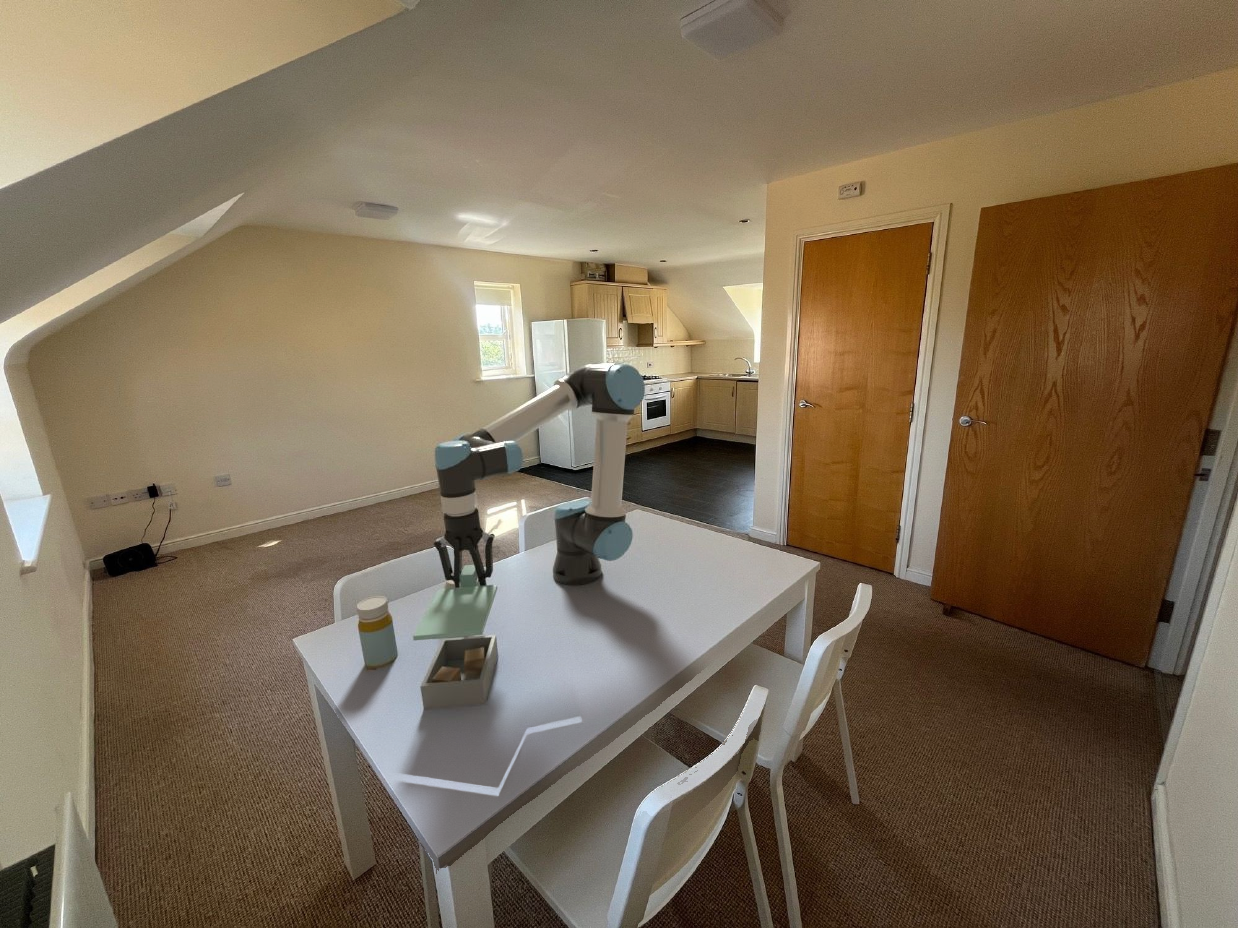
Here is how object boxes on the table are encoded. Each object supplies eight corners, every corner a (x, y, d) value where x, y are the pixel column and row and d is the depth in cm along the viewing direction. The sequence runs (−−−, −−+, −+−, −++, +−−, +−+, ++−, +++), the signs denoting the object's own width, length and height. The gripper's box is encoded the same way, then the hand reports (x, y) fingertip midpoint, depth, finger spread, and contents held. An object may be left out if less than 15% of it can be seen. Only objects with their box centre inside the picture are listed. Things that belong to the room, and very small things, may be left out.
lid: (502, 589, 118) (498, 562, 116) (484, 648, 96) (479, 616, 94) (447, 593, 117) (443, 566, 116) (416, 653, 95) (410, 622, 93)
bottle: (376, 674, 109) (366, 614, 106) (358, 664, 113) (347, 606, 109) (404, 657, 115) (395, 599, 111) (386, 648, 119) (377, 592, 115)
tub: (498, 657, 114) (496, 634, 112) (485, 707, 98) (482, 681, 97) (445, 661, 113) (442, 638, 112) (424, 712, 98) (420, 686, 96)
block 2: (485, 662, 111) (483, 647, 110) (485, 673, 107) (483, 657, 106) (467, 666, 110) (465, 650, 109) (466, 677, 106) (464, 661, 105)
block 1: (461, 684, 104) (459, 668, 103) (452, 697, 100) (450, 680, 99) (444, 682, 105) (442, 666, 104) (434, 695, 101) (431, 679, 100)
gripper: (499, 502, 114) (510, 593, 120) (428, 507, 113) (443, 598, 119) (494, 513, 107) (505, 610, 113) (418, 519, 106) (434, 615, 112)
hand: (473, 604), depth 116 cm, fingers closed on lid, 3 cm apart
